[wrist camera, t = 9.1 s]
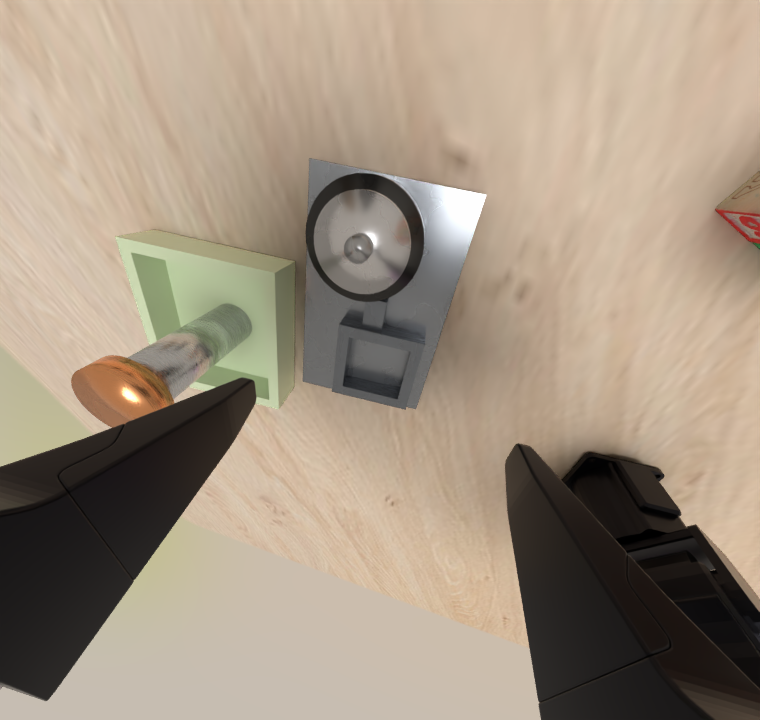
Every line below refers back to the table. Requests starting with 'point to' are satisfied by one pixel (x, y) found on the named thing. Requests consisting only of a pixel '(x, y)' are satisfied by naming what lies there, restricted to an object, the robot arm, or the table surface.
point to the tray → (218, 303)
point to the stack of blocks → (744, 209)
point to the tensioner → (380, 278)
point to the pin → (159, 367)
